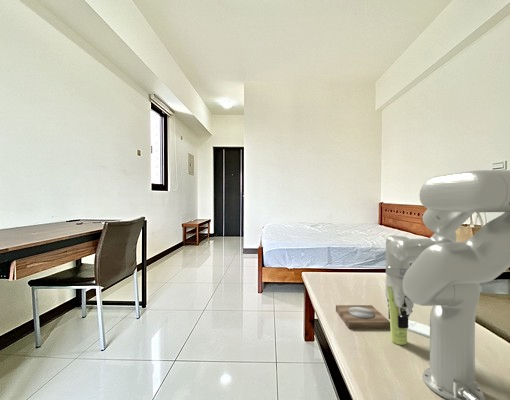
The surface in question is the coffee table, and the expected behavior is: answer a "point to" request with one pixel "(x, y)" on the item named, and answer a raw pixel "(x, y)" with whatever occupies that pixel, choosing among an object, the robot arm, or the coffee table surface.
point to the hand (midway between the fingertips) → (398, 322)
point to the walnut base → (362, 317)
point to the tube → (396, 322)
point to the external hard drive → (419, 328)
